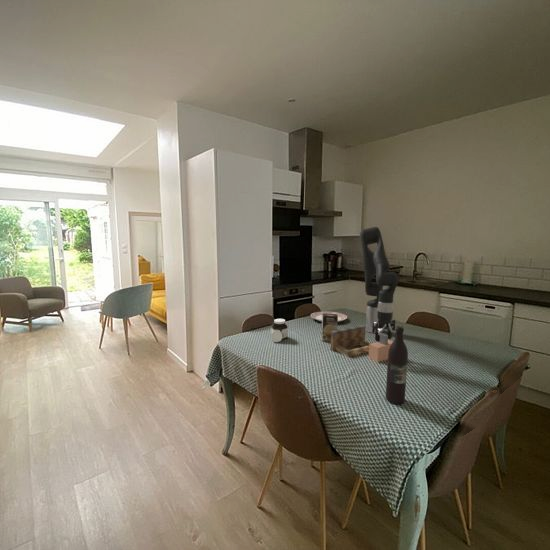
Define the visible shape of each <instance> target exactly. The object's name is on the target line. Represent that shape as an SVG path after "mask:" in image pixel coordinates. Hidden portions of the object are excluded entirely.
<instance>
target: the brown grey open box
mask: <svg viewBox="0 0 550 550" xmlns="http://www.w3.org/2000/svg"><path fill="white" fill-rule="evenodd" d="M371 343H372V342H368V341H366V325H364V324H361V325H356V326H351V327H345V328H340V329H337V330H334V331H331V342H330V351H331V352H338V353H340V354H341V355H344V356H345V355H346V357H347V358H349V357H354V356H358V355H361V353H362V354H365V353H369V344H371ZM357 346H361V347H357ZM363 346H364V347H363ZM348 347H349V348H352V347H357V348H353V349H348ZM335 350H337V351H335ZM357 354H358V355H357ZM353 355H354V356H353Z"/></svg>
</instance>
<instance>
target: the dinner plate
mask: <svg viewBox="0 0 550 550" xmlns="http://www.w3.org/2000/svg"><path fill="white" fill-rule="evenodd" d="M322 313H327V314H337V316H338V323H339V322H342V321H345V320H347V318H348V316H347V315H346V314H343V313H340V312H336V311H317V312H313V313H311V314H310V317H311V318H312V319H313V320H316V321H318V322H321V323H322Z"/></svg>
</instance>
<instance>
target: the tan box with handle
mask: <svg viewBox="0 0 550 550" xmlns="http://www.w3.org/2000/svg"><path fill="white" fill-rule="evenodd" d="M393 341H394V340H391V339H388V335H387V334H386V333H383V332H381V333H380V342H377V341H375V342H370V343H371V344H369V352H368V359H369V358H370V359H369V360H371V359H372V360H371V361H373V360H374V361H373V362H375V361H376V363H377V362H378V363H381V362H384V361H383V360H385V361H388V360H387V359H388V352H389V348H390V346H391V344H392V343H393ZM380 361H381V362H380Z"/></svg>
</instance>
